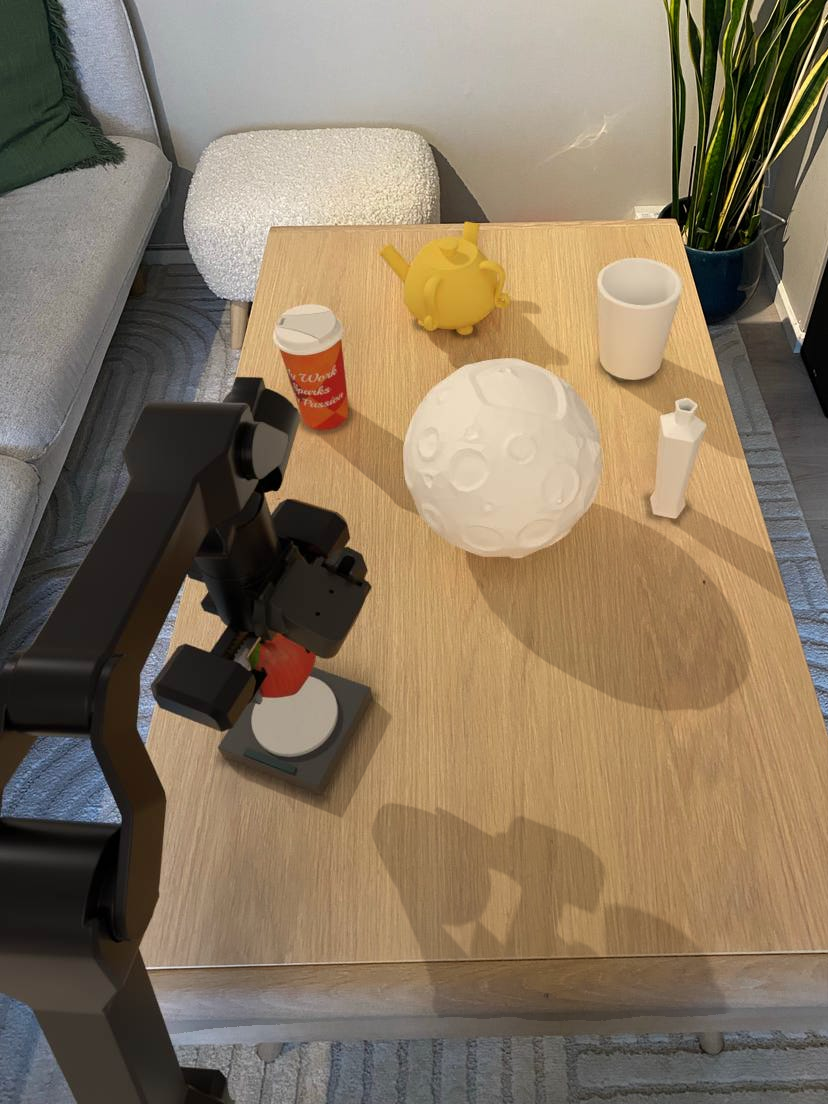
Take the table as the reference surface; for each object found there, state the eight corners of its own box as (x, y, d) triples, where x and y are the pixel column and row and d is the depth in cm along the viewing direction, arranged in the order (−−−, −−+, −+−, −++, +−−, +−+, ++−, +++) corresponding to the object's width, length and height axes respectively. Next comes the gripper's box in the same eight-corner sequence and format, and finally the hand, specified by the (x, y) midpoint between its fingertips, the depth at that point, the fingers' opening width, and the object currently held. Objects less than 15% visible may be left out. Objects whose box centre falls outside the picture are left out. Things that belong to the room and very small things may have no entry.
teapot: (477, 269, 130) (474, 199, 122) (521, 323, 121) (521, 252, 113) (383, 298, 126) (373, 228, 118) (421, 356, 117) (414, 285, 109)
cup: (586, 341, 118) (592, 258, 109) (661, 337, 119) (674, 254, 109) (595, 393, 112) (603, 310, 102) (675, 389, 112) (690, 306, 102)
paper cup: (285, 433, 109) (261, 342, 98) (304, 389, 114) (283, 298, 103) (349, 439, 108) (331, 348, 97) (365, 395, 113) (350, 304, 102)
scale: (321, 796, 79) (317, 783, 77) (222, 757, 81) (215, 744, 80) (373, 697, 85) (369, 683, 83) (279, 664, 88) (274, 649, 86)
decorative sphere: (630, 556, 95) (650, 424, 81) (451, 623, 90) (439, 494, 76) (548, 434, 107) (554, 300, 93) (387, 486, 103) (366, 353, 88)
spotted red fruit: (233, 662, 78) (203, 595, 70) (310, 632, 80) (289, 564, 72) (256, 739, 73) (226, 676, 66) (337, 706, 75) (317, 641, 67)
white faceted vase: (657, 526, 98) (676, 427, 87) (639, 497, 100) (655, 397, 89) (696, 515, 98) (719, 415, 87) (677, 486, 101) (697, 386, 90)
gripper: (267, 699, 55) (310, 804, 66) (399, 481, 67) (416, 602, 78) (115, 642, 58) (181, 752, 69) (267, 443, 70) (302, 565, 81)
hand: (279, 663), depth 74 cm, fingers closed on spotted red fruit, 7 cm apart
